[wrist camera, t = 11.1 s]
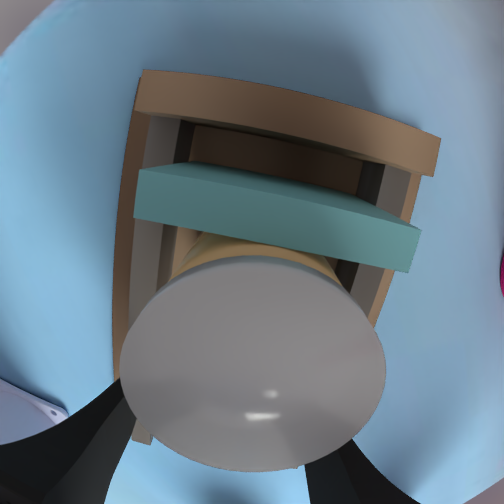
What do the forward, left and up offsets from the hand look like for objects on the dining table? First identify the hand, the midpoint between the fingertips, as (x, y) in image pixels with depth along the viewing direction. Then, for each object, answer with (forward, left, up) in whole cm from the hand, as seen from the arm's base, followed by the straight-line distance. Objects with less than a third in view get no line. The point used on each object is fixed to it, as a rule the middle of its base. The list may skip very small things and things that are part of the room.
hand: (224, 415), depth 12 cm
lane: (0, +3, -4) cm, 5 cm away
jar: (0, +5, -3) cm, 6 cm away
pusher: (0, +8, -3) cm, 9 cm away
